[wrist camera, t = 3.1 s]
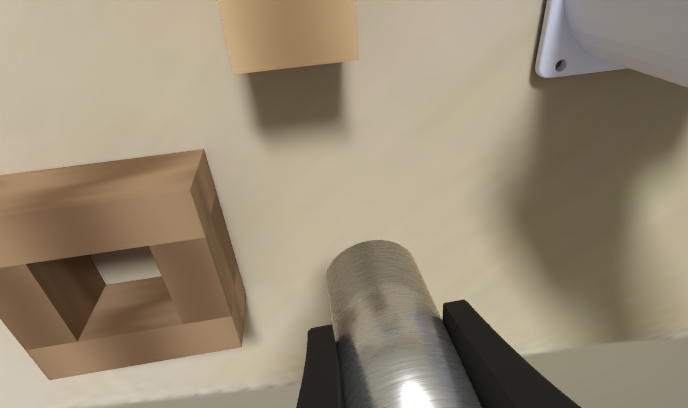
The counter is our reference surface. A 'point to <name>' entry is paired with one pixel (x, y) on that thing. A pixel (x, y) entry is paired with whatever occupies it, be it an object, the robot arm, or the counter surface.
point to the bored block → (111, 235)
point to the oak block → (288, 33)
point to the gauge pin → (391, 333)
